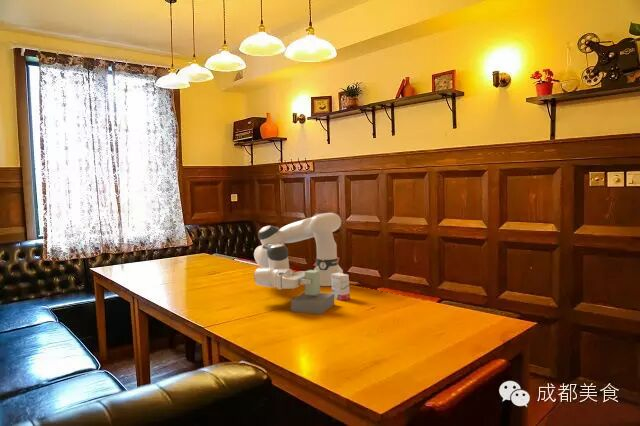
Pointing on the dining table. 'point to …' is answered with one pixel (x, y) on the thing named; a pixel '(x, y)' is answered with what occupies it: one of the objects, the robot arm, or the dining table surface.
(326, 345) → the dining table surface
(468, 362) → the dining table surface
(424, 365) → the dining table surface
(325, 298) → the gray block
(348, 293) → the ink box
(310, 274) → the sage block
